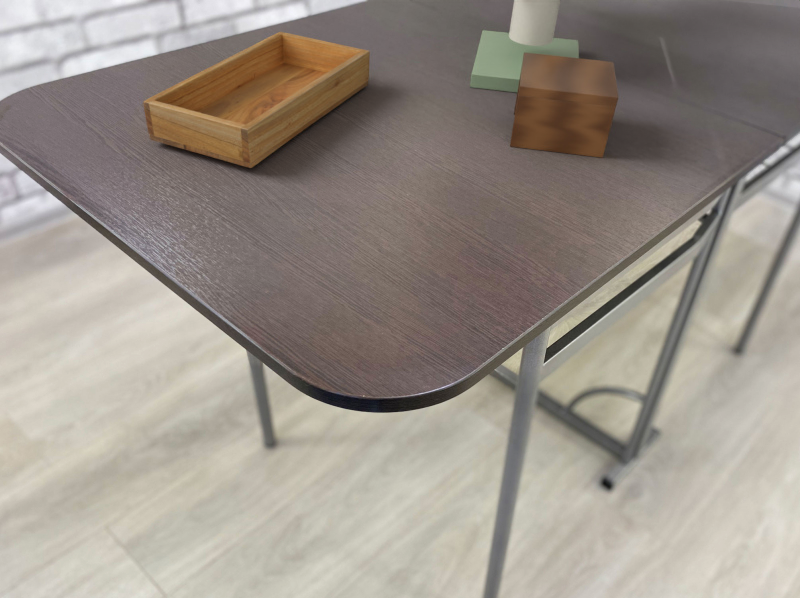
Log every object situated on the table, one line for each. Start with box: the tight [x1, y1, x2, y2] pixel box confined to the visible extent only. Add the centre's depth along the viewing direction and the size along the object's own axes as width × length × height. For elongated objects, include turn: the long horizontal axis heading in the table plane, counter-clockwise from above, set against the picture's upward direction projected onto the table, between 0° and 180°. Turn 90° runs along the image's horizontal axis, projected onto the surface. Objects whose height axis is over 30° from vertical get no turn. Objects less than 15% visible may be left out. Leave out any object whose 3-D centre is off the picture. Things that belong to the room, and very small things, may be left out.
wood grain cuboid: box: [509, 52, 619, 158], centre depth 95 cm, size 12×12×8 cm
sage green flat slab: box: [469, 29, 580, 94], centre depth 113 cm, size 16×20×2 cm
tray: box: [142, 31, 371, 169], centre depth 96 cm, size 31×15×6 cm, turn 154°
